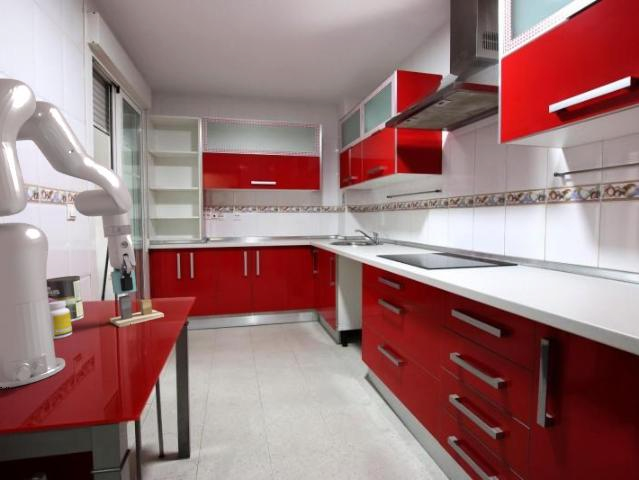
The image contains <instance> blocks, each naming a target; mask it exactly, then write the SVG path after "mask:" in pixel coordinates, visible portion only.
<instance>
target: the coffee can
mask: <svg viewBox="0 0 639 480" xmlns="http://www.w3.org/2000/svg"><path fill="white" fill-rule="evenodd" d="M46 281H47V291H48V298H52V299H54V300H56V301H66V306H65V308H68V309H69V310H70V318H71V323H72V322H76V321H79V320H81V319H83V318H84V317H85V316H84V309H83V307H84V306H83V296H82V286H81V276H79V275H70V276H69V275H68V276H60V277H58V276H57V277H52V278H46Z"/></svg>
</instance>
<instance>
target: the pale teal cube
mask: <svg viewBox="0 0 639 480" xmlns="http://www.w3.org/2000/svg"><path fill="white" fill-rule="evenodd" d="M131 271H132V272H131V273H132V282H133V290H129V291H124V292H123V291H122V290H121V282H120V279H121V274H120V271H114V270H113V271H110V276H111V278H110V279H111V284H112V285H111V286H112V292H113V294H116V295H118V296H119V295H122V294H130V293H134V292H137V285H136V282H137V281H136V276H135V275H136V274H135V270H134V269H131ZM123 273H124V270H123Z"/></svg>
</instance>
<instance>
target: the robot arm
mask: <svg viewBox="0 0 639 480" xmlns="http://www.w3.org/2000/svg"><path fill="white" fill-rule="evenodd" d="M34 92H35V91H33V89H32V88H31V86H29V84H27V83H26V82H23V81H21V80H19V79H14V78H2V77H1V78H0V218H1V217H2V218H3V217H9V216H10V217H11V216H14V215H17V214H19V213H21V212H23V211H24V210H25V209H26V208H27V205H28V194H27V190H26V189H27V188H26V186H25V185H26V184H25V180H24V178H23V173H22V168H21V165H20V161H19V157H18V150H17V142H19V141H20V142H21V141H22V142H23V141H32V142H33V144H34V145H35V146H36V147H37V148H38V150H39V151H40V153H42V155H43V157H45V159H46V161H48V163H49V165H51V167H52V168H53V169H54V170H55V171H56V172H58V173H60V174H63V175H65V176H69V177H73V178H76V179H80V180H83V181H84V180H85V181H87V182H90V183H92V184H94V185H97V186H99V187H100V189H87V190H84V191H81V192H79V193H78V194H77V195H76V196H75V198H74V200H73V204H74V207H75V210H76V211H77V212H78V213H79V214H81V215H82V216H86V217H101V219H102V228H103V237H104V238H106V239H107V248H108V250H107V251H108V259H109V260H108V261H109V265H110V266H111V268H113V271H120V274H121V279H120V282H121V290H122V291H123V292H124V291H129V290H133V282H132V273H131V272H132V271H131V270H133V269H132V268H135V267H136V266H137V265H136V264H137V263H136V257H135V251H134V245H133V241H132V236H133V233H132V232H133V231H132V225H131V215H130V211H131V210H132V207H133V199H132V196H131V194H130V191H129V189H128V188H127V185H126V184H125V182H124V180H123V179H122V178H121V176H120V175H119V174H118V173H117V171H115V170H113V169H112V168H110V167H109V166H107V164H105V163H103V162H101V161H100V160H98V159H96V158H95V157H93V156H90V154H89V153H87V151H86V150H85V148H84V146H83V145H82V143H81V142H80V140H79V138H78V137H77V136H76V133H75V132H74V130H73V129H72V127H71V126H70V124H69V123H68V121H67V119H66V117H65V116H64V114H63V113H62V112H61V110H60V109H59V108H58V107H57V106H56V105H55V104H53V103H52V102H51V103H50V102H48V101H44V100H43V101H40V100H37V98H36V95H35V93H34ZM48 254H49V240H48V237H47V236H46V234H45V231H43V230H42V229H41V228H39V227H38V226H36V225H33V224H32V223H31V224H30V223H25V222H0V387H2V388H1V389H9V388H15V387H20V386H24V385H29V384H32V383H35V382H40V381H42V380H44V379H46V378H49V377H51V376H53V375H55V374H57V373H59V372H61V371H62V370H63V369H64V368H65V367H66V360H65V359H64V358H63V357H62V358H61V357H56V353H55V344H54V339H53V333H52V325H51V316H50V308H49V300H48V291H47V281H46V279H47V262H48ZM123 270H124V273H123ZM6 387H7V388H6ZM8 387H9V388H8Z"/></svg>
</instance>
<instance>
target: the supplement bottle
mask: <svg viewBox="0 0 639 480" xmlns="http://www.w3.org/2000/svg"><path fill="white" fill-rule="evenodd" d="M65 306H66V301H56V302H51V303H49V308H50V316H51V325H52V333H53V340H57V339H58V340H59V339H62V338H63V339H64V338H66V337H69V336H71V335H72V334H73V326H72V322H71V318H70V310H69V309H68V308H65Z"/></svg>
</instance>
